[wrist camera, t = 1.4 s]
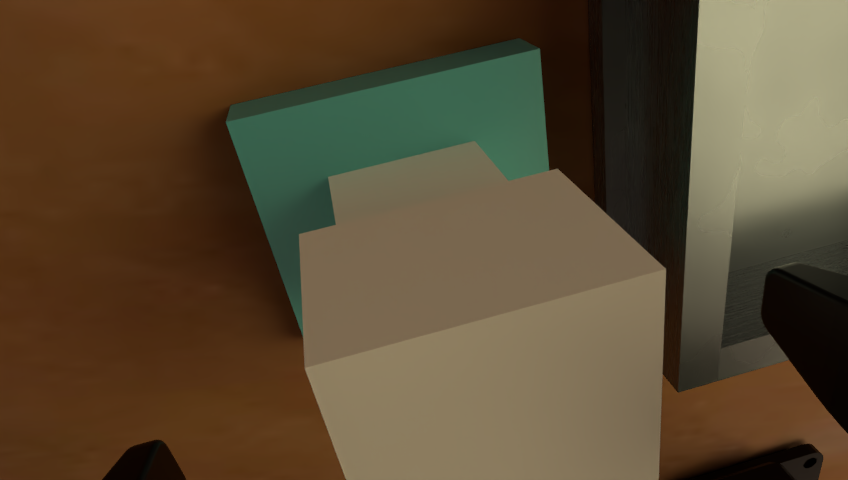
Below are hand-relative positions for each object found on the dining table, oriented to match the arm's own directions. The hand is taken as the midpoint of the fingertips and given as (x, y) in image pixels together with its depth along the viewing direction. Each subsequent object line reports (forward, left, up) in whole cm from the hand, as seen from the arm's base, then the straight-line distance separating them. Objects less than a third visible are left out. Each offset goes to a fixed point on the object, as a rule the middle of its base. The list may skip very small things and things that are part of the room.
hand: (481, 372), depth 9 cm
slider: (0, 0, -6) cm, 6 cm away
